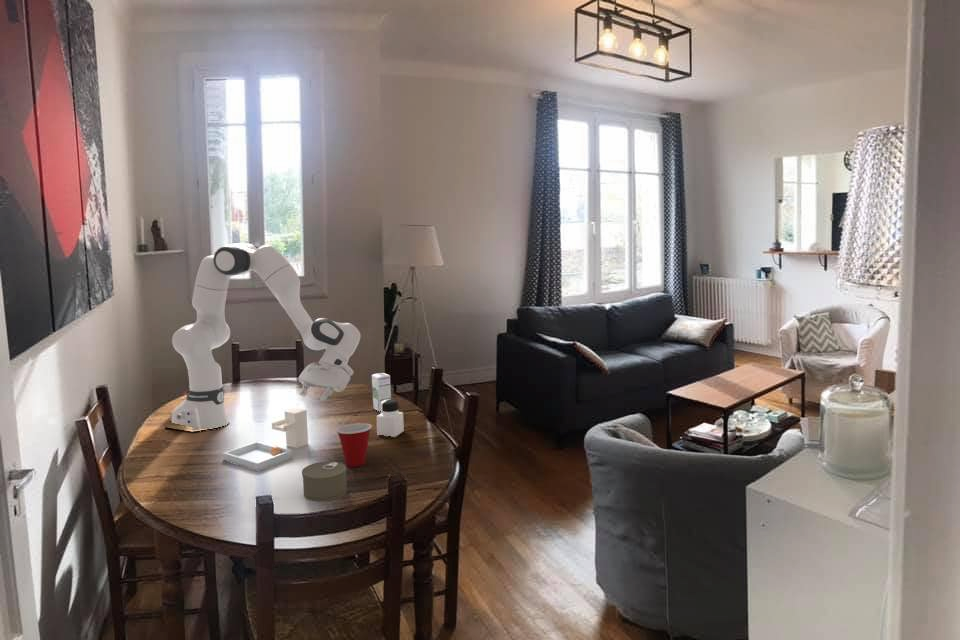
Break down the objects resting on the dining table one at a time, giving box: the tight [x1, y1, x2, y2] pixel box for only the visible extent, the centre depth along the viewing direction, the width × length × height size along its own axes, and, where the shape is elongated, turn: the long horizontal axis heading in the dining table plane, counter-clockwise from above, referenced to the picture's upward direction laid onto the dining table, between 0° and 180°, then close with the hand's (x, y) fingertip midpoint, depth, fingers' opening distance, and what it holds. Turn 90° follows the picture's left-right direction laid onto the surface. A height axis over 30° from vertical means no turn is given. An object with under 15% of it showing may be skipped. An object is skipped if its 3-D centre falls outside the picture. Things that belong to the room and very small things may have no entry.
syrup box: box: [371, 372, 392, 413], centre depth 257 cm, size 6×6×14 cm
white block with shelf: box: [271, 407, 309, 449], centre depth 214 cm, size 10×6×12 cm, turn 147°
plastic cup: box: [335, 422, 372, 468], centre depth 199 cm, size 11×11×12 cm
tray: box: [222, 441, 293, 472], centre depth 204 cm, size 17×13×2 cm
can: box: [301, 461, 348, 503], centre depth 178 cm, size 12×12×7 cm
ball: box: [270, 445, 281, 456], centre depth 205 cm, size 3×3×3 cm
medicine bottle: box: [376, 398, 405, 438], centre depth 228 cm, size 7×7×12 cm
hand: (312, 397), depth 221 cm, fingers open, 8 cm apart
